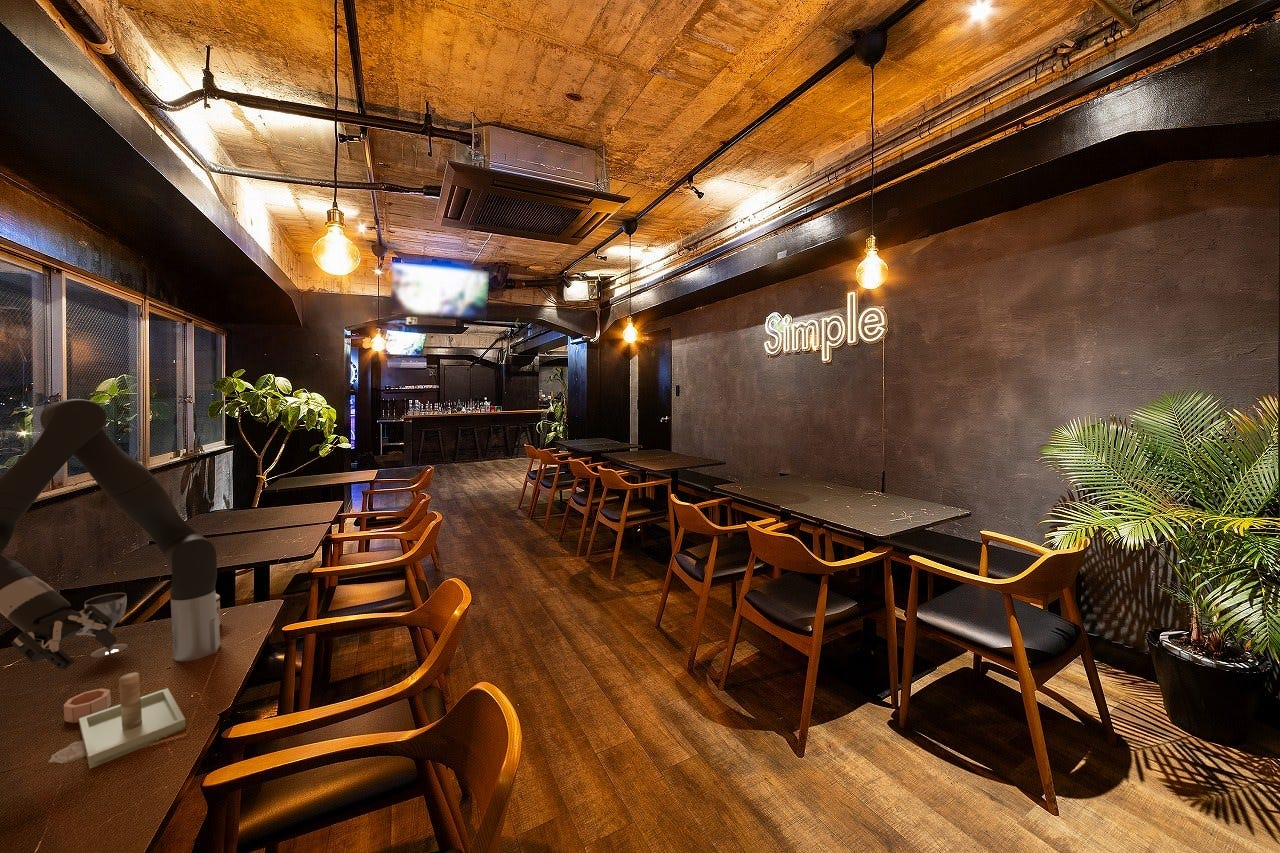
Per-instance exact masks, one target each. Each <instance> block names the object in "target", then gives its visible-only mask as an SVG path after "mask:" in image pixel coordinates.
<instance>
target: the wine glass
mask: <svg viewBox="0 0 1280 853" xmlns="http://www.w3.org/2000/svg"><path fill="white" fill-rule="evenodd" d="M127 603H128V599H127V593H125V592H112V593H106V594H102V595H98V596H95V597H92V598H90V599H89V598H88V599H87V600H85V601H84V609H85V608H86V607H87V606H89V605H93V606H94V607H96V608H97V609H98V610H100V611H101V612H102V613H104V614H105V615H106V616H108V617H109V618H110V619H111V620H112V623H111V624H110V625H109V626H108V627H107V630H108V631H109V632H111V633H112V631H113V628H114V627H115V625H116V624H117V623H118V622H120V620H121V619H122V618H123V616H125V613H126V610H127ZM99 621H100V622H102V621H101V620H99ZM102 623H103V622H102ZM128 647H129V644H127V643H115V644H114V645H113V646H112V647H110V648H106V647H105V646H104V647H100V648H99V649H97V650H94V651H93V652H91V654H90V657H92V658H103V657H108V656H111V655H115V654H119V653H120V652H122V651H124V650H126V649H127V648H128Z"/></svg>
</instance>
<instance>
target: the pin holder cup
mask: <svg viewBox="0 0 1280 853" xmlns="http://www.w3.org/2000/svg"><path fill="white" fill-rule="evenodd" d="M111 698H112V696H111V690H110V689H107V688H97V689H93V690H92V689H91V690H89V691H84V692H81V693H80V694H78V695H75V696H73V697H71V698H69V699H67V701H66V702H65V703H64V704H63V715H64V716H63V717H64V722H67V723H72V724H73V723H74V724H75V723H79V718H82V717H85V716H88V715H91V714H93V713H96V712H99V711H102V710H105V709H108V708H111V707H112V699H111Z"/></svg>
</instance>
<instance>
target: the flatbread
mask: <svg viewBox="0 0 1280 853" xmlns="http://www.w3.org/2000/svg"><path fill="white" fill-rule="evenodd" d="M84 757H87V755H86V750H85V746H84V742H83V739H81V740H76V741H74V742H72V743H70V744H69V745H68V746H66V747H64V748H62V749H59V750H58V751H56V752H55V753H53V754H52V755H51V758H50V759H49V760H48V761H47V763H58V764H59V763H60V764H67V763H70V762H73V761H76V760H79V759H81V758H84Z"/></svg>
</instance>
